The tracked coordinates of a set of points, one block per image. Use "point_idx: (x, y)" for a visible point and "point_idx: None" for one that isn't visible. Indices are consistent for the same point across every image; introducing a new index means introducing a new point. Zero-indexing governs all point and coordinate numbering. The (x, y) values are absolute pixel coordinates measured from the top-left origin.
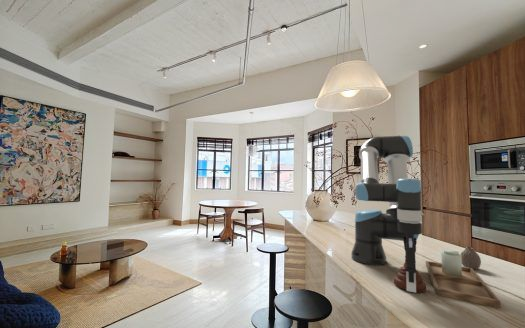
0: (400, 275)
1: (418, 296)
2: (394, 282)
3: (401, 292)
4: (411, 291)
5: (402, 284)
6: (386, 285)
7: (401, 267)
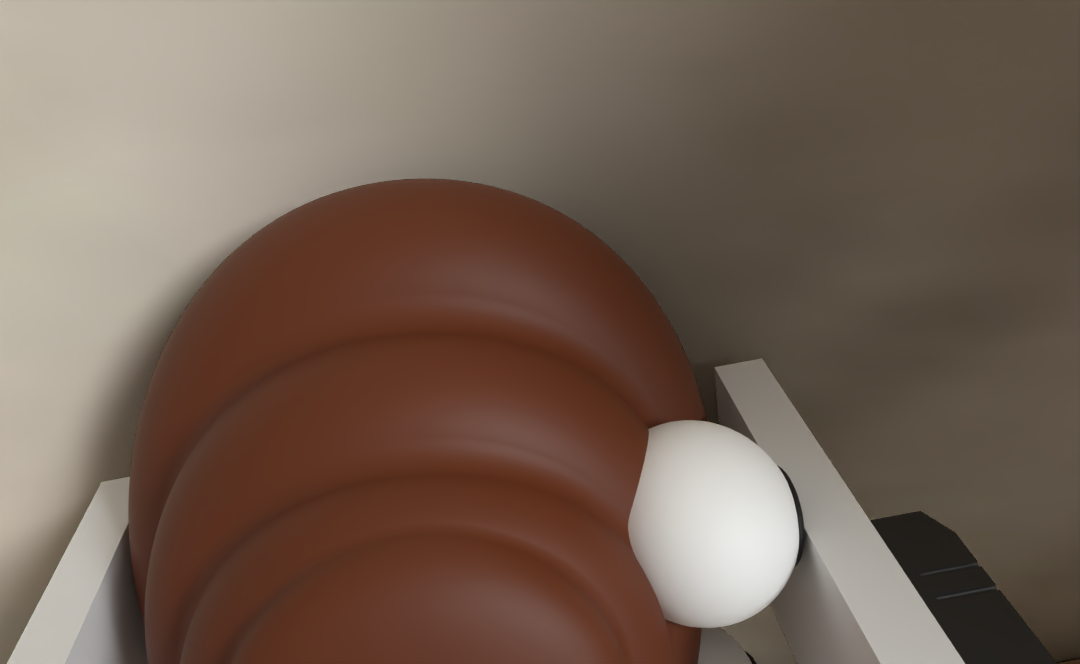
0: (202, 501)
1: None
2: (255, 234)
3: (10, 389)
4: None
5: (134, 450)
6: (122, 37)
7: (393, 630)
